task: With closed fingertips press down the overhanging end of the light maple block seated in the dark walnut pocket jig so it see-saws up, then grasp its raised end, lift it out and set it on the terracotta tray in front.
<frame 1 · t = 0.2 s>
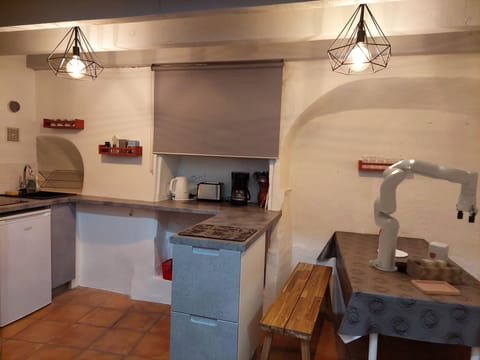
hand: (465, 220, 190), 31 cm above the table, fingers open, 9 cm apart
walnut pocket jig: (433, 278, 180), on the table
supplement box: (436, 268, 197), on the table
maple block: (432, 271, 180), point 4 cm above the table, touching walnut pocket jig
terracotta tray: (434, 289, 166), on the table
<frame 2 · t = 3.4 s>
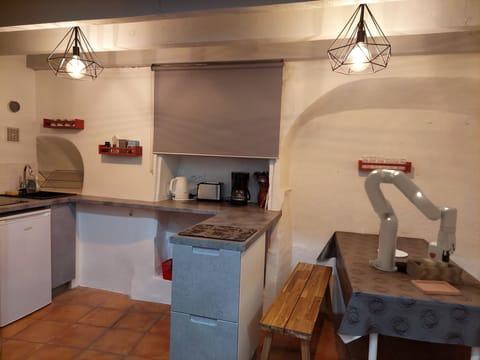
hand: (445, 261, 179), 10 cm above the table, fingers closed
maple block: (433, 270, 180), point 4 cm above the table, touching gripper, walnut pocket jig
everything else where it was.
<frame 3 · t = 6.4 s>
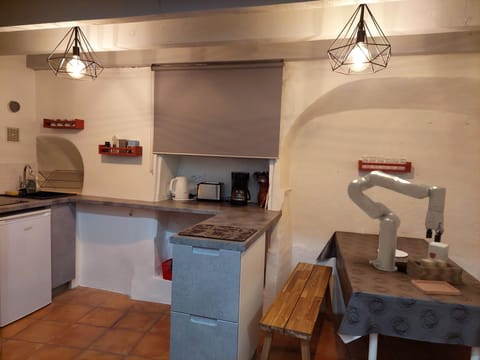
hand: (432, 239, 178), 22 cm above the table, fingers open, 7 cm apart
maple block: (432, 271, 180), point 4 cm above the table, touching walnut pocket jig
everything else where it was.
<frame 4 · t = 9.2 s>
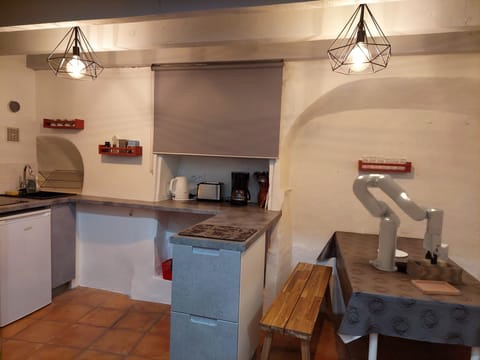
hand: (430, 262, 180), 9 cm above the table, fingers closed on maple block, 4 cm apart
maple block: (432, 271, 180), point 4 cm above the table, touching gripper, walnut pocket jig
everything else where it was.
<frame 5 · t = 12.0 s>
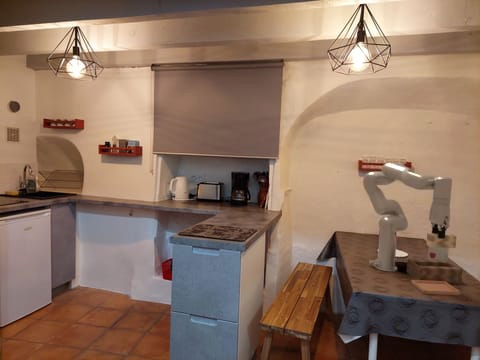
hand: (438, 236, 163), 27 cm above the table, fingers closed on maple block, 4 cm apart
maple block: (440, 246, 164), point 23 cm above the table, touching gripper
everything else where it was.
when the fingers open (10 cm above the table, at t = 15.2 s): maple block drops 4 cm, resting on terracotta tray.
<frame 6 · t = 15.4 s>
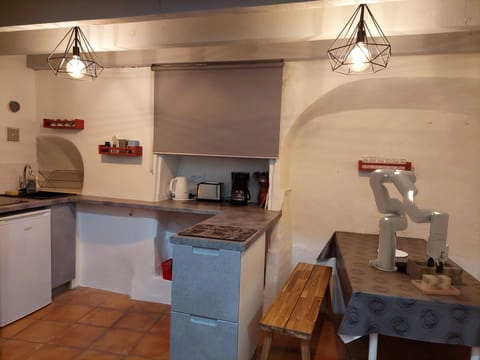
hand: (434, 269, 165), 10 cm above the table, fingers open, 6 cm apart
maple block: (435, 287, 166), point 1 cm above the table, touching terracotta tray
everything else where it was.
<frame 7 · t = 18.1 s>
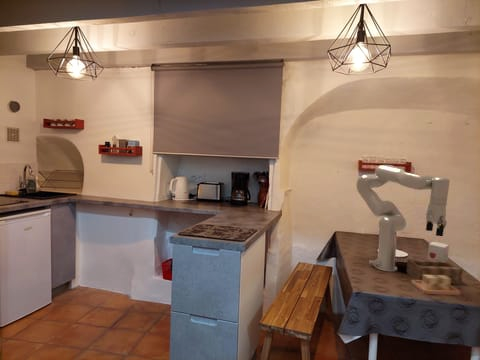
hand: (434, 233, 169), 28 cm above the table, fingers open, 9 cm apart
nothing on the table moved.
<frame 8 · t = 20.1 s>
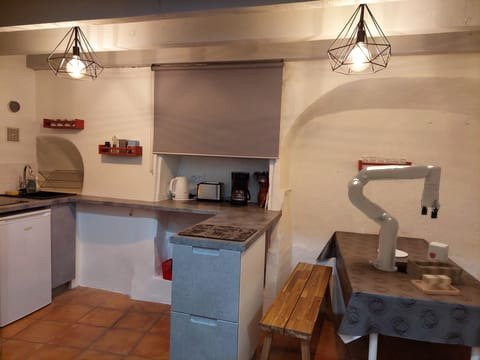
hand: (428, 216, 185), 33 cm above the table, fingers open, 9 cm apart
nothing on the table moved.
at the end: maple block inside the target area on the terracotta tray (0.5 cm from its centre), point 0.6 cm above the terracotta tray's base; the gripper is holding nothing; maple block moved 16.9 cm from its start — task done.
